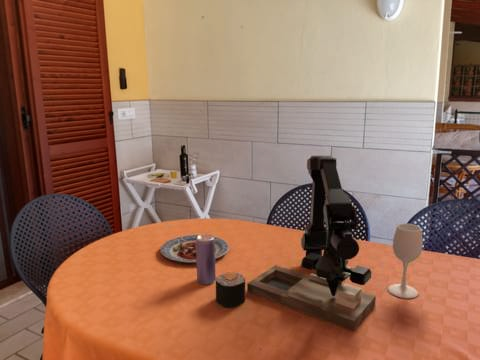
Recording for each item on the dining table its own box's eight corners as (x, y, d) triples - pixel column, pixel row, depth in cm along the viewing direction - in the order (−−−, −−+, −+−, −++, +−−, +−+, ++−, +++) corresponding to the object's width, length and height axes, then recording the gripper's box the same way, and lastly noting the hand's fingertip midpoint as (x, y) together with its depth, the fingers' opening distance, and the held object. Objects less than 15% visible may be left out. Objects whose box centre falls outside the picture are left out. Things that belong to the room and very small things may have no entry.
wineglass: (417, 287, 130) (424, 224, 125) (419, 301, 122) (426, 233, 117) (387, 283, 133) (393, 220, 128) (387, 296, 125) (393, 230, 120)
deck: (275, 273, 140) (275, 260, 139) (375, 305, 120) (376, 291, 119) (247, 292, 127) (247, 278, 126) (353, 331, 107) (354, 315, 106)
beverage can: (212, 286, 131) (212, 241, 128) (194, 284, 132) (193, 240, 129) (217, 277, 137) (216, 234, 133) (200, 275, 138) (199, 233, 134)
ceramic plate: (242, 248, 161) (242, 241, 161) (201, 273, 140) (201, 265, 139) (190, 235, 175) (189, 228, 174) (146, 256, 153) (145, 249, 153)
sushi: (211, 299, 123) (210, 274, 121) (233, 291, 128) (233, 267, 126) (227, 311, 117) (226, 285, 115) (250, 301, 122) (250, 276, 120)
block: (343, 296, 119) (344, 283, 118) (360, 301, 116) (361, 288, 115) (336, 303, 115) (337, 290, 114) (353, 309, 112) (354, 295, 111)
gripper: (292, 245, 114) (290, 296, 117) (358, 263, 103) (353, 319, 106) (311, 233, 122) (309, 282, 126) (374, 248, 111) (369, 301, 115)
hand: (333, 295), depth 118 cm, fingers closed
